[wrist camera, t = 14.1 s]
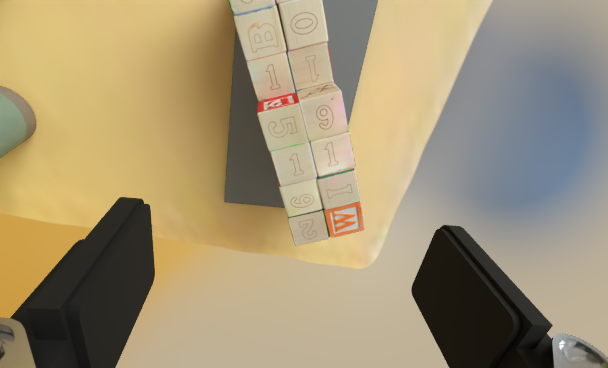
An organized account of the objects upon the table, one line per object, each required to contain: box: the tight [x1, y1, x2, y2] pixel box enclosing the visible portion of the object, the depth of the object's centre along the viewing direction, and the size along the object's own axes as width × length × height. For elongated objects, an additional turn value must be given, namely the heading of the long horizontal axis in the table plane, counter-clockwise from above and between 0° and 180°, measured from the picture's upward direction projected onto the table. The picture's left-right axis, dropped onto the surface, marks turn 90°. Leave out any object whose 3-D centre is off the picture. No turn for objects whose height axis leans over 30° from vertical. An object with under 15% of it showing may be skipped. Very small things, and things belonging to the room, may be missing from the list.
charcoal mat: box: [225, 0, 378, 208], centre depth 34 cm, size 27×13×1 cm, turn 170°
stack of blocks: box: [229, 0, 364, 246], centre depth 27 cm, size 21×6×12 cm, turn 12°
